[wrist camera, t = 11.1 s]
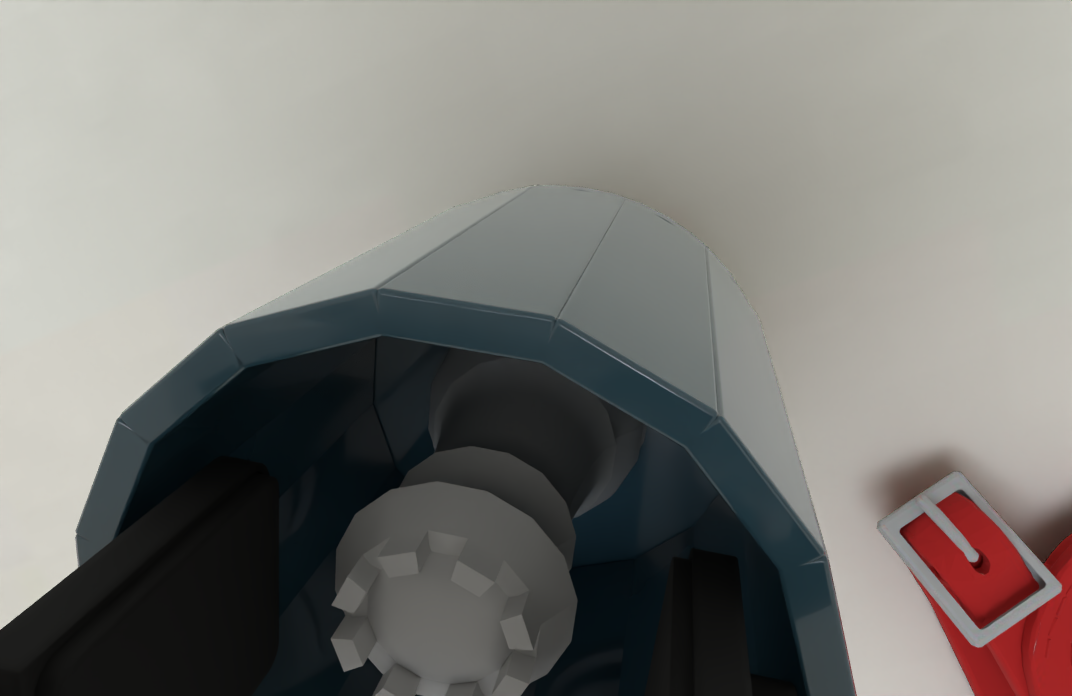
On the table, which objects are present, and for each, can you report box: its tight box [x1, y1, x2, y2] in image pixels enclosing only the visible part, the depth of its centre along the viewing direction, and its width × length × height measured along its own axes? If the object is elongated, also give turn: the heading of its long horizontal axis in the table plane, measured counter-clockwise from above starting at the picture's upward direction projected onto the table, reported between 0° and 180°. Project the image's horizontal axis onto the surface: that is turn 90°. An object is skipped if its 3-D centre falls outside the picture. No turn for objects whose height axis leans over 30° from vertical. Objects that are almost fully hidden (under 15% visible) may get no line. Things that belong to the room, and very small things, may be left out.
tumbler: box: [75, 185, 857, 696], centre depth 13 cm, size 9×9×9 cm
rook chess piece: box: [331, 348, 647, 696], centre depth 13 cm, size 4×4×8 cm
